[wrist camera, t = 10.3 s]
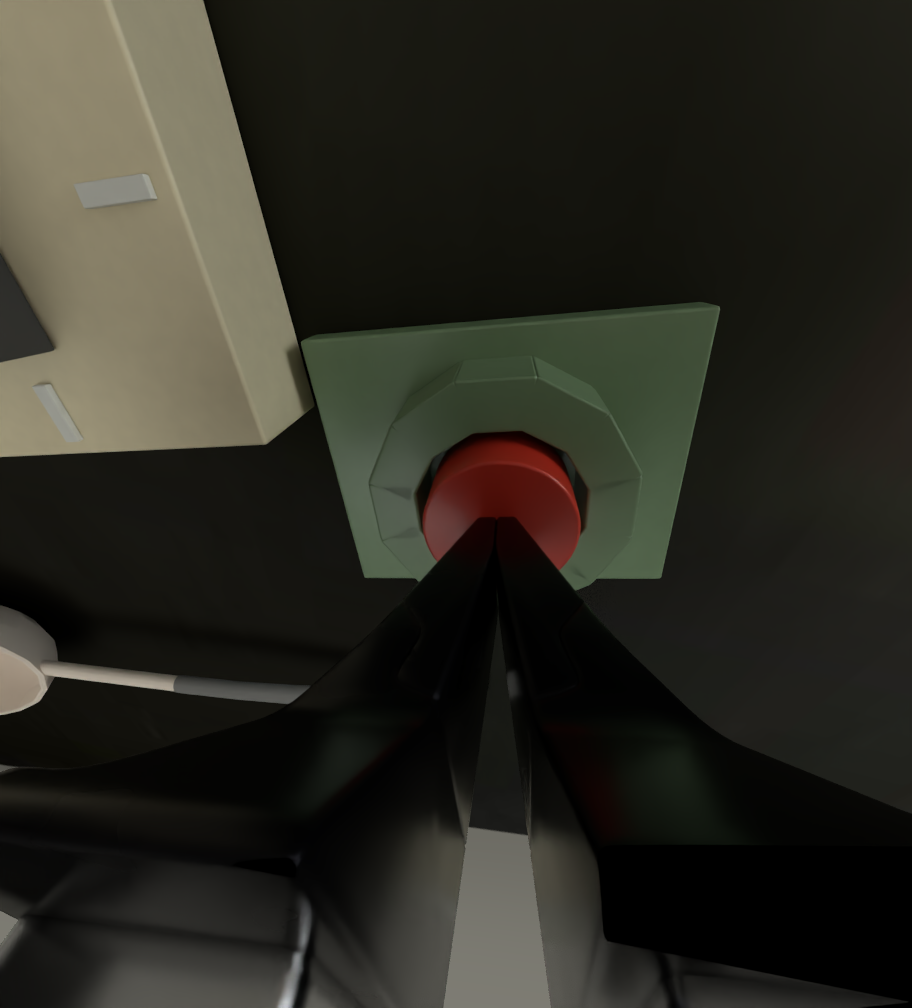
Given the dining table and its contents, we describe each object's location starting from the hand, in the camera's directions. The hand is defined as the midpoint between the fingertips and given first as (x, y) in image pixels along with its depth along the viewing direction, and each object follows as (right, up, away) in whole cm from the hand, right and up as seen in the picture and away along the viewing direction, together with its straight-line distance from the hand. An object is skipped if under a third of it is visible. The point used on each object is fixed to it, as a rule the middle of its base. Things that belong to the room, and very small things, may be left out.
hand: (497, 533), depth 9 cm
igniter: (0, +2, +3) cm, 4 cm away
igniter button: (0, +1, +2) cm, 2 cm away
